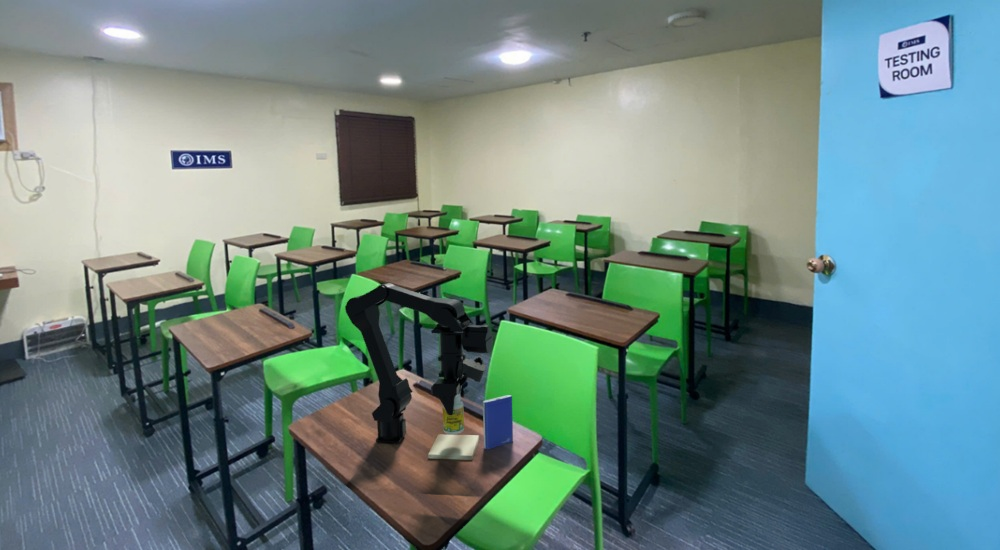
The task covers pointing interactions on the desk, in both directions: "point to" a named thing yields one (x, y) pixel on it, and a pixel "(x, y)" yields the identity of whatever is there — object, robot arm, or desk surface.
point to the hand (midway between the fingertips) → (453, 410)
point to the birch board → (454, 447)
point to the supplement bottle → (454, 418)
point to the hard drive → (497, 421)
